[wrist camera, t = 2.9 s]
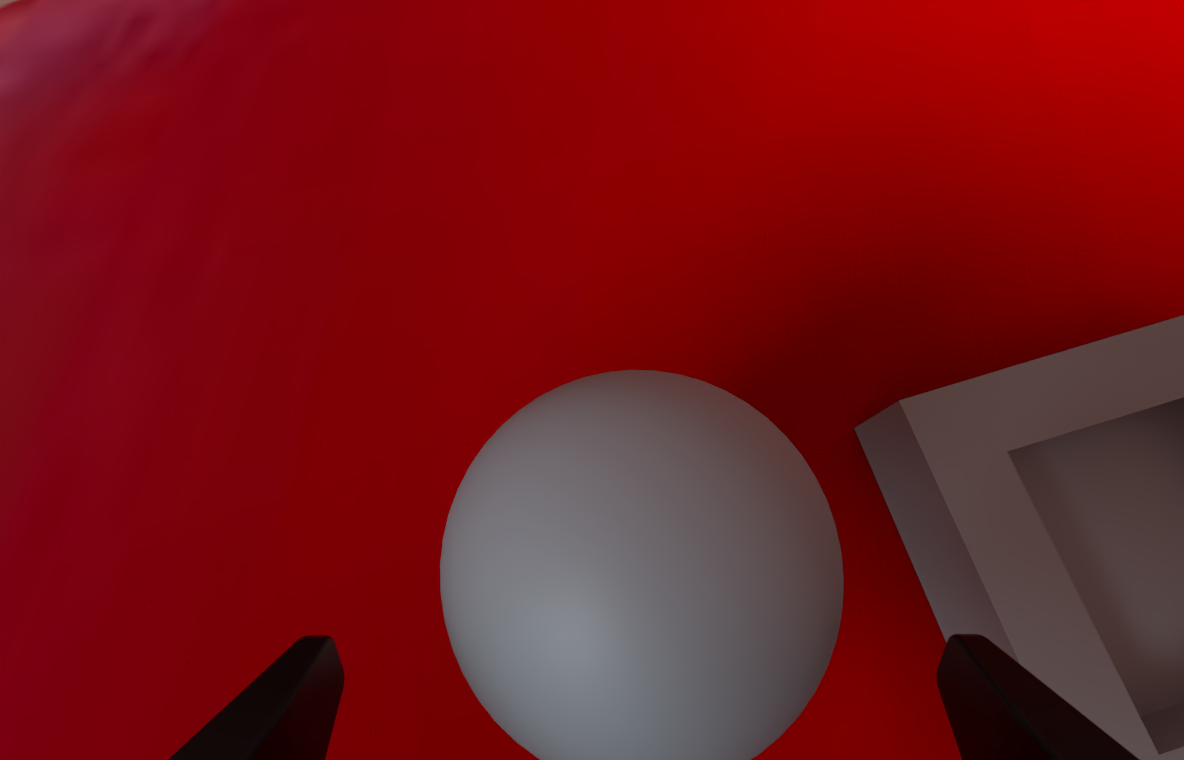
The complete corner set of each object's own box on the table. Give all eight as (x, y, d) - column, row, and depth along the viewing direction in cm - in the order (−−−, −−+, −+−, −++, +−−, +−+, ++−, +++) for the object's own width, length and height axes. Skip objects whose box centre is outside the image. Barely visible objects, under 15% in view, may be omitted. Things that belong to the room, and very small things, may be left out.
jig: (1410, 699, 17) (1587, 726, 14) (1027, 830, 16) (1123, 889, 13) (1179, 330, 20) (1281, 285, 17) (854, 428, 19) (899, 400, 16)
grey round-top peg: (730, 629, 18) (1027, 767, 5) (567, 681, 18) (439, 964, 5) (676, 467, 19) (799, 251, 6) (524, 513, 19) (336, 383, 6)
